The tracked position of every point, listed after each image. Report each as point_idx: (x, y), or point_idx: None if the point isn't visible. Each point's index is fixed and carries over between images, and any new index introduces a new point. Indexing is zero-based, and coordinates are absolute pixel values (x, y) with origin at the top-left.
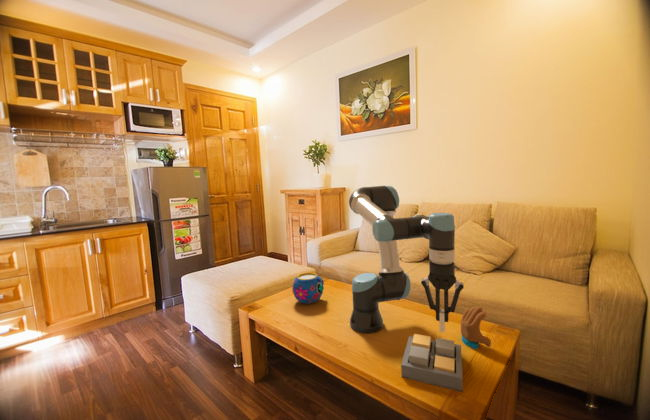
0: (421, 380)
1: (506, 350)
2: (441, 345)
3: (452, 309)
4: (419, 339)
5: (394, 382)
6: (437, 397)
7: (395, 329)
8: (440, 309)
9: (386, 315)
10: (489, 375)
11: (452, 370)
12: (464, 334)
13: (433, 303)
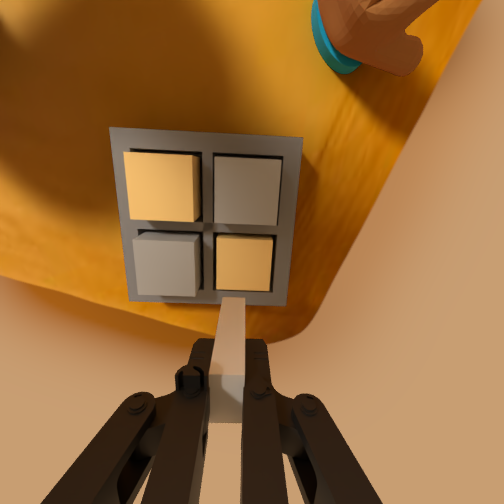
0: None
1: (452, 49)
2: (234, 208)
3: (304, 462)
4: (152, 190)
5: (133, 305)
6: None
7: (40, 8)
8: (213, 375)
9: None
10: (355, 210)
11: (264, 290)
12: (329, 21)
13: (143, 434)
